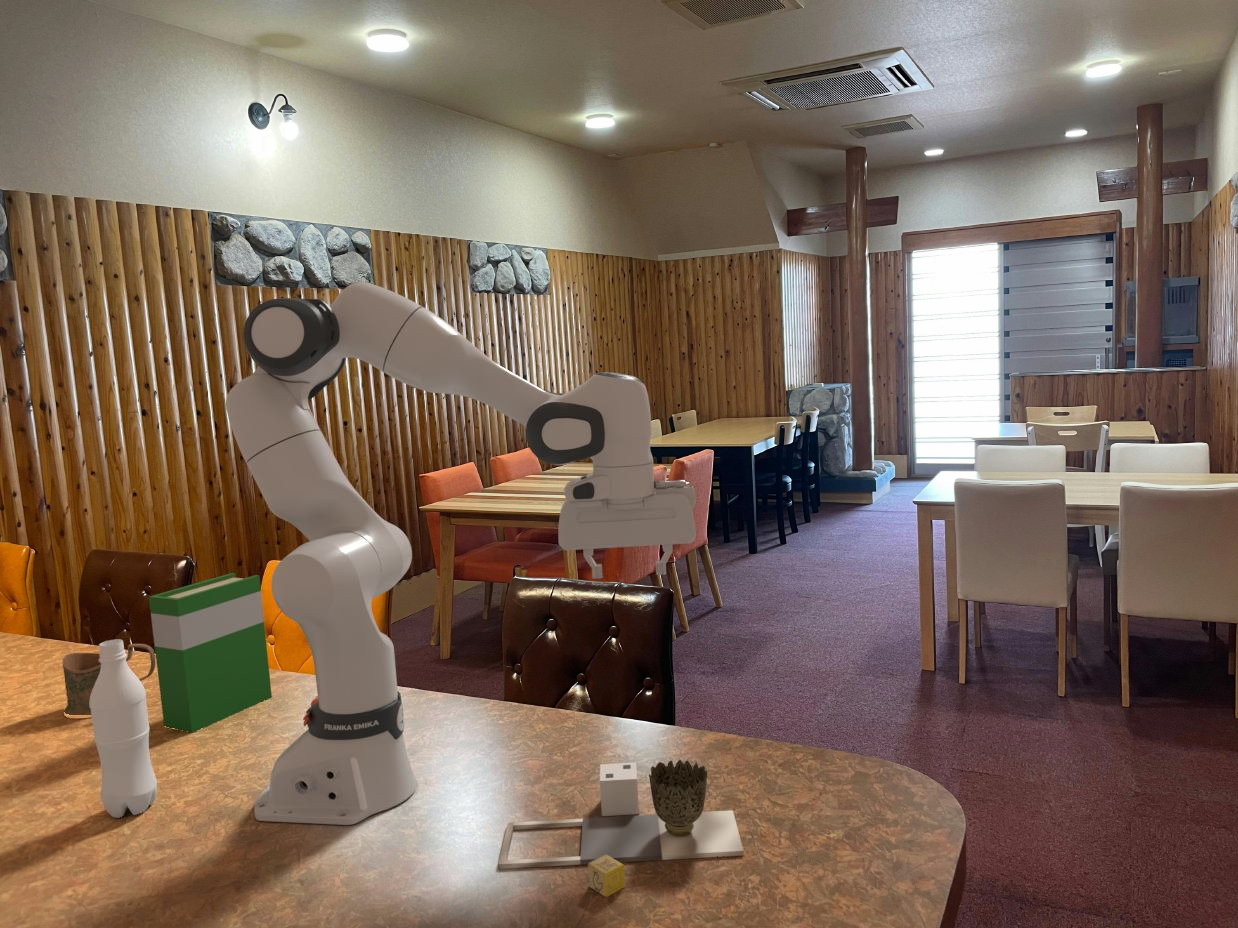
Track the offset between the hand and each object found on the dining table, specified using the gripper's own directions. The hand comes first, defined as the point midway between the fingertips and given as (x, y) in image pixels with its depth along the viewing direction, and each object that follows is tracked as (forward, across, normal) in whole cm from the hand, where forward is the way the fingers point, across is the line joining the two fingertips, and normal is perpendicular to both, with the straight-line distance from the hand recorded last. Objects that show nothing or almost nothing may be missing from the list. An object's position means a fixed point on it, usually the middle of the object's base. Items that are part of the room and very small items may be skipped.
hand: (629, 575), depth 135 cm
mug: (+29, +100, -37) cm, 111 cm away
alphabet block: (+29, +5, +32) cm, 44 cm away
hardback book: (+29, +77, -31) cm, 88 cm away
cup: (+29, -4, +22) cm, 36 cm away
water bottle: (+29, +74, +6) cm, 80 cm away
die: (+29, +3, +13) cm, 32 cm away
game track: (+29, +3, +22) cm, 37 cm away
